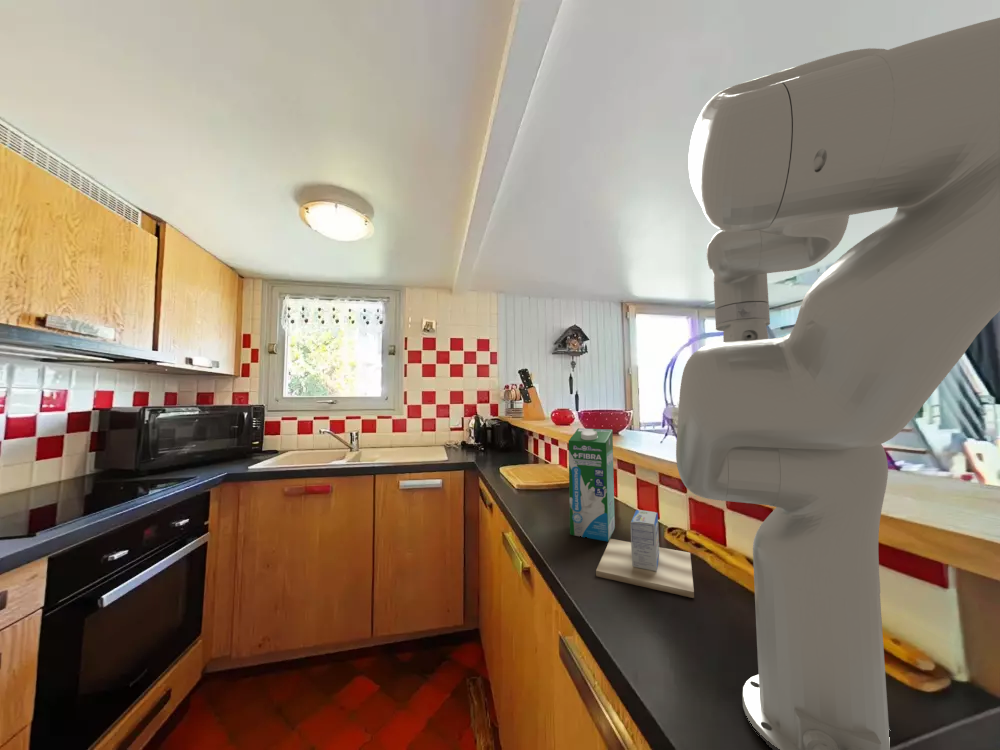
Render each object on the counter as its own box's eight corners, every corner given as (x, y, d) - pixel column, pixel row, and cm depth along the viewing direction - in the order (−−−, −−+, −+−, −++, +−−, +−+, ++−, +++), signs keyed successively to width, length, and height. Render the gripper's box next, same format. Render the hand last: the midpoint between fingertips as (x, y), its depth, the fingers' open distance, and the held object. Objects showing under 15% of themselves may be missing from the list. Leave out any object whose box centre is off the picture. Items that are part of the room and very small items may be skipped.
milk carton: (569, 534, 84) (568, 430, 85) (579, 522, 92) (577, 427, 93) (608, 542, 80) (605, 432, 81) (614, 528, 88) (612, 429, 89)
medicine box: (657, 572, 64) (655, 524, 64) (631, 567, 66) (630, 520, 66) (659, 555, 71) (658, 511, 71) (636, 550, 73) (635, 508, 73)
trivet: (694, 598, 58) (693, 591, 58) (596, 575, 65) (596, 570, 65) (690, 557, 72) (690, 552, 72) (610, 543, 79) (610, 538, 79)
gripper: (786, 302, 49) (794, 423, 48) (755, 327, 65) (760, 418, 64) (724, 308, 52) (730, 422, 51) (708, 330, 68) (712, 417, 67)
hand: (746, 420), depth 57 cm, fingers open, 9 cm apart
